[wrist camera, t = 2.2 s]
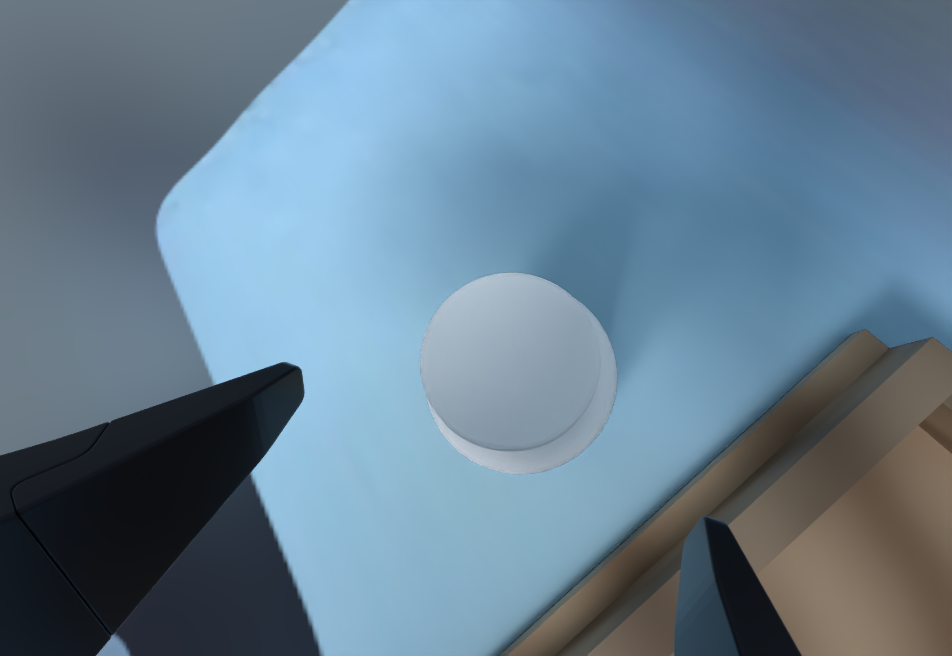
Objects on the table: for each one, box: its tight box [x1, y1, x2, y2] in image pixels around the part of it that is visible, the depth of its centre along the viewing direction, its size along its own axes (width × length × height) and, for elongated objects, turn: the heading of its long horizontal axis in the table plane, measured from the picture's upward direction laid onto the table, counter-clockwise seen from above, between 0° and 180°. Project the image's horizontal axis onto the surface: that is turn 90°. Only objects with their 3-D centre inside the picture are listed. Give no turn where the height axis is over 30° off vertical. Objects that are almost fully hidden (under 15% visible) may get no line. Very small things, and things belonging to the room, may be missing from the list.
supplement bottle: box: [420, 272, 617, 474], centre depth 15 cm, size 5×5×10 cm
